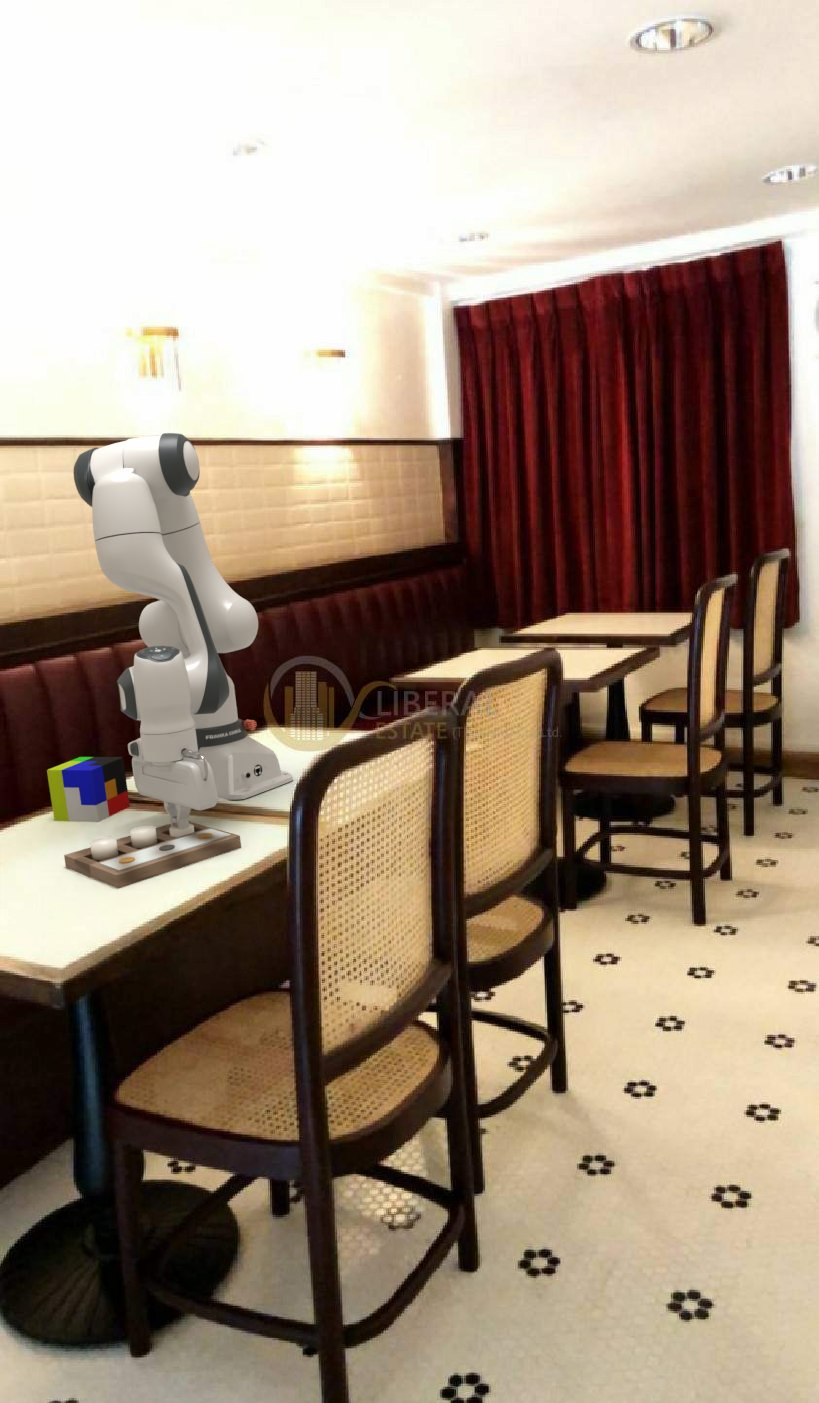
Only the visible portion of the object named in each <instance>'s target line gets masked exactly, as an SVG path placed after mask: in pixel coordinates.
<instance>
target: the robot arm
mask: <svg viewBox="0 0 819 1403" xmlns="http://www.w3.org/2000/svg"><path fill="white" fill-rule="evenodd" d="M200 471H201V469H200V461H199V456H198V453H197V451H196V448H195V446H194V444H193V443H192V441H191V440H190V439H189V438H188V437H186V435H184V434H183V433H175V432H174V433H173V432H172V433H171V432H167V433H166V432H165V433H162V434H161V435H145V436H138V437H132V438H128V439H126V440H123V441H120V442H119V441H118V442H115V443H112V444H108V445H105V446H102V447H93V448H90V449H88V450H86V451H84V452H81V453H80V454H79V455H78V457H77V459H76V461H75V463H74V464H73V481H74V484H75V487H76V490H77V493H78V495H79V497H80V498H81V500H83V502H85V503H86V504H87V505H88V506H89V507H91V511H92V512H91V514H92V518H91V519H92V530H93V539H94V545H95V551H96V555H97V558H98V564H99V567H100V570H101V572H102V573H103V575H104V576H105V578H106V579H108V581H110V582H111V583H112V584H114V586H117V587H119V588H120V589H123V590H126V591H128V592H130V593H134V594H135V593H136V594H139V595H141V596H142V595H143V596H147V597H149V598H150V597H151V598H154V599H157V601H154V602H151V603H149V604H147V605H146V606H145V607H144V608H143V610H142V611H141V613H140V616H139V621H138V630H139V634H140V637H141V640H142V641H143V643H144V645H145V646H147V647H145V648H142V649H140V650H139V651H137V652H136V653H134V656H133V666H130V667H127V668H126V669H125V670H124V671H123V672H122V673H121V675H120V676H119V677H118V679H117V680H116V682H117V688H118V694H119V704H120V711H121V712H122V713H123V714H124V715H126V716H127V717H129V718H131V719H133V720H134V721H140V726H139V727H140V728H139V733H140V737H139V738H137V739H135V740H132V741H131V742H129V743H128V744H127V750H128V755H130V756H131V757H132V759H131V767H132V775H133V780H134V786H135V788H136V790H137V792H138V794H139V795H140V796H144V797H147V798H150V799H155V800H158V801H161V802H163V807H164V810H165V811H166V814H167V815H168V817H169V824H171V826H172V827H175V828H178V829H181V830H182V829H186V828H188V827H189V817H190V814H191V811H192V810H195V811H204V810H207V809H211V808H214V807H215V806H217V803H218V798H219V799H223V800H228V801H229V800H245V799H246V800H247V799H248V798H251V797H253V796H255V795H258V794H262V793H263V792H266V791H270V790H272V789H274V788H278V787H280V786H282V785H285V784H288V783H290V782H292V781H294V780H293V779H294V778H293V774H291V773H289V772H288V771H285V770H281V767H280V762H279V759H278V757H277V756H278V755H277V754H276V752H274V750H273V749H271V748H270V747H268V746H266V745H264V744H263V743H261V742H259V741H257V740H256V739H254V738H252V737H251V736H249V735H248V731H247V730H250V731H254V730H256V727H257V721H255V720H254V719H246V720H243V719H241V718H239V717H238V707H237V700H236V699H237V698H236V689H235V684H234V682H233V680H232V678H231V677H230V675H228V674H227V672H226V670H225V668H224V665H223V663H222V661H221V657H220V656H219V654H227V653H231V652H236V651H239V650H243V649H246V648H248V647H250V646H251V645H252V644H253V643H254V641H255V639H256V636H257V634H258V630H259V619H258V615H257V614H258V613H257V612H256V610H255V607H254V606H253V604H252V603H250V601H248V599H246V598H243V597H242V596H240V595H239V593H237V592H236V591H234V589H232V587H230V585H229V584H228V583H227V582H226V581H225V579H224V578H223V577H222V575H221V573H220V572H219V570H218V569H217V567H216V566H215V565H216V564H214V561H213V559H212V557H211V554H210V552H209V548H208V546H207V545H208V544H207V541H206V537H205V536H204V535H205V534H204V531H203V527H202V525H201V520H200V517H199V514H198V510H197V508H196V505H195V502H194V499H193V497H192V494H191V491H192V490H193V489H195V487H196V485H197V484H198V482H199V479H200Z"/></svg>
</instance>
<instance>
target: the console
mask: <svg viewBox="0 0 819 1403" xmlns="http://www.w3.org/2000/svg"><path fill="white" fill-rule="evenodd" d="M189 824H193V825H194V833H191V834H187V835H184V836H181V837H178V838H176V837H173V836H170V831H169V828H170V827H172V826H171V824H170V823H168V824H164V825H160V826H157V827H155V828H156V835H157V844H155V845H152V846H149V847H145V848H134V847H132V841H131V834H130V835H127V836H123V837H121V838H120V837H119V838H116V840H117V847H118V856H116V857H113V858H110V859H107V860H93V859H92V853H91V846H90V847H87V848H84V849H80V850H78V851H73V852H69V853H68V854H64V858H63V859H64V863H65V868H66V869H69V870H70V871H74V872H77V873H79V874H81V875H84V876H87V877H89V878H91V879H93V880H96V881H99V882H101V883H104V884H107V885H108V886H111V887H113V888H116V889H121V888H124V887H127V886H130V885H134V884H136V883H139V882H143V881H145V880H148V879H151V878H154V877H157V876H160V875H163V874H166V873H170V872H173V871H175V870H178V869H182V868H185V867H188V866H190V865H193V864H196V863H199V862H203V861H207V860H209V859H211V858H215V857H217V856H221V855H223V854H224V855H225V854H226V853H230V852H232V851H235V850H238V849H241V848H242V842H241V841H242V840H241V835H240V834H235V833H232V832H228V831H225V830H221V829H218V828H214V827H212V826H208V825H203V824H201V823H197V822H194V821H189Z"/></svg>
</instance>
